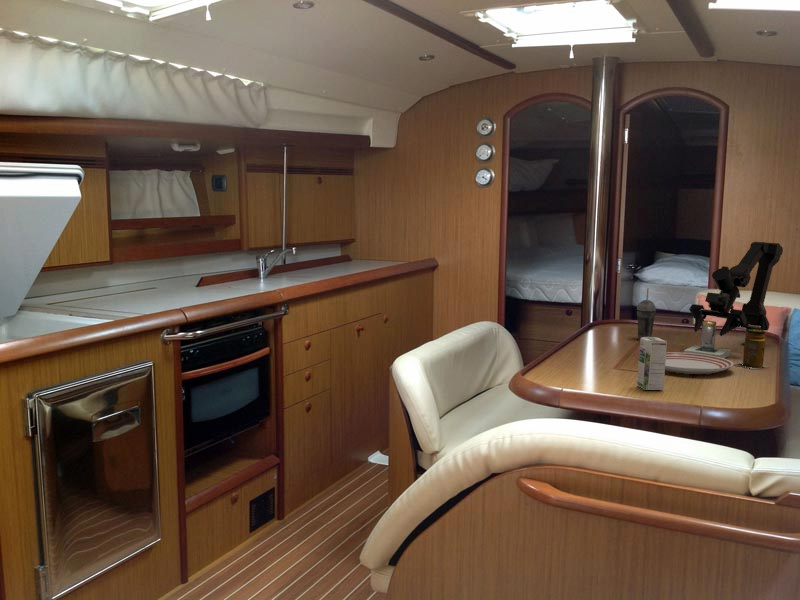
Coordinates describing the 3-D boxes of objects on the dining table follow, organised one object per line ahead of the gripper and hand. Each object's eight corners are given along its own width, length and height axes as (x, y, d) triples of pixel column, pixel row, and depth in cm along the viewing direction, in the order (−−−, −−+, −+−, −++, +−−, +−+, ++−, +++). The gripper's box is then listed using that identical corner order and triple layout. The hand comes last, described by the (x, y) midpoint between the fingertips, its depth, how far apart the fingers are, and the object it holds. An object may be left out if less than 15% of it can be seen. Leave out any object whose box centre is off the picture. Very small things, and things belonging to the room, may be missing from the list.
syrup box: (636, 386, 212) (639, 336, 210) (655, 386, 213) (659, 336, 211) (644, 391, 207) (647, 340, 205) (664, 391, 207) (667, 340, 205)
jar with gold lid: (699, 353, 259) (702, 320, 258) (713, 354, 258) (715, 321, 256) (700, 356, 255) (702, 322, 254) (714, 357, 254) (716, 323, 252)
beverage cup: (633, 341, 281) (636, 289, 279) (635, 337, 288) (638, 287, 285) (653, 342, 279) (657, 290, 276) (655, 339, 285) (658, 288, 283)
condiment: (768, 367, 241) (771, 330, 239) (753, 370, 236) (757, 333, 234) (747, 362, 247) (750, 327, 245) (732, 365, 242) (735, 329, 240)
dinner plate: (623, 363, 244) (623, 353, 243) (686, 357, 255) (687, 347, 254) (685, 382, 219) (686, 371, 218) (752, 375, 230) (753, 364, 229)
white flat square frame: (694, 350, 265) (695, 345, 265) (729, 355, 257) (730, 349, 257) (683, 355, 256) (683, 350, 255) (719, 361, 248) (720, 355, 248)
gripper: (693, 281, 263) (674, 314, 258) (745, 286, 249) (726, 322, 244) (703, 301, 269) (685, 334, 264) (754, 308, 255) (736, 343, 250)
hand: (707, 333), depth 255 cm, fingers open, 9 cm apart
